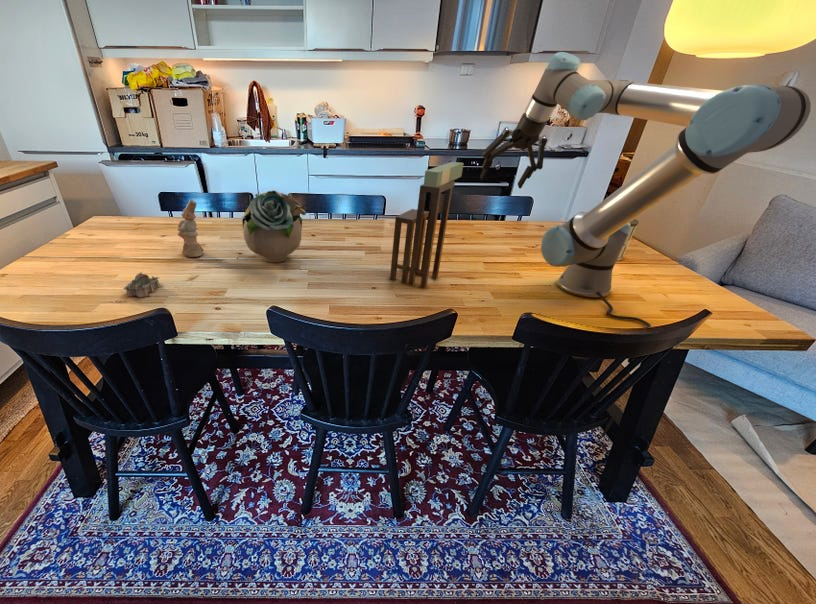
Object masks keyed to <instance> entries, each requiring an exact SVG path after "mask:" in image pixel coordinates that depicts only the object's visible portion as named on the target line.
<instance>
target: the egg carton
mask: <svg viewBox="0 0 816 604" xmlns="http://www.w3.org/2000/svg"><path fill="white" fill-rule="evenodd" d="M160 278H161V277H158V276H153V275H152V276H151V277H150V276H149V275H148V274H146V273H143V272H142V271H141V272H139V273H137V274H136V275H135V276H134V278H133V279H132V280H131V281H130V282H129V283H127V284H126V286H125V287H123V288H122V289H123V290H125V291H126V294H127V297H130V298H132V297H135V296H136V297H137V298H143V297H145V298H146V297H149V293H153V292H155V289H158V288H160V287H161V284H160V282H159V279H160Z"/></svg>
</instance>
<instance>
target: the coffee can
mask: <svg viewBox="0 0 816 604" xmlns="http://www.w3.org/2000/svg"><path fill="white" fill-rule="evenodd" d="M629 223H630V225H631V227H630V229H629V232H628V236H627V238H626V240H625V242H624V244H623V247H622V249H621V251H620V253H619V256H618V258H617V260H616V261H622V260H623V259H624V256H625V253H626V252H627V250H628V247H629V245H630V243H631V240H632V238H633V235H634V233H635V231H636V229H637V226H638V225H639V223H640V221H639V220H638V219H637V218H635V219H634V220H632V221H631V222H629Z"/></svg>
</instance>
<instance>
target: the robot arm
mask: <svg viewBox="0 0 816 604" xmlns="http://www.w3.org/2000/svg"><path fill="white" fill-rule="evenodd" d="M580 65H581V60H580V58H579V57H578V56H576V55H574V54H571V53H570V52H566V51H565V52H564V51H557V52H556V53H554V54H553V55H552V57H551V59H550V60H549V62H548V64H547V66H546V67H545V68H544V71H543V73H542V76H541V77H540V79H539V82H538V83H537V86H536V88H535V90H534V92H533V93H532V95H531V96H530V99H529V101H528V103H527V105H526V107H525V109H524V112H523V113H522V115H521V117H520V119H519V121H518V122H517V124H516V127H515V129H513V130H511V129H509V127H508V126H506V127H504V128H503V130H502V132H501V133H500V134H499V135H498V136H497V137H496V138H495V139H494V140H493V141H492V142H491V143H490V144H489V145H488V146H487V147H486V148H485V149H484V150H483V151H482V152H481V154H482V157H483V158H484V161H483V163H482V165H481V168H482V171H481V174H480V175H479V177H480V181H482V182H483V181H484V180H485V178H486V176H487V174H488V172H489V170H490V168H491V166H492V164H493V160H494V159H495V158H497V157H499V156H500V155H501V154H503V153H505V152H507V151H508V150H511V149H513V148H515V149H517V150H518V149H520V150H522V151H525V150H527V153H528V158H529V159H528V160H529V164H530V165H527V166H526V168H525V170H524V172H523V173H522V175H521V176H520V178H519V179H518V182H517V187H518V189H522V188H523V186H524V184H525V183H526V181H527V179H530V178H531V177H532V175H533V173H534V172H536V171H538V170H542V169H543V167H544V158H545V148H546V145H547V143H548V138H547V136H546V134H544V135H542V136H540V135H541V134H542V132H543V130H544V128H545V127H546V125H547V121H549V120H550V118H551V116H552V115H553V112H554V111H555V109H556V108H557V105H559V106H560V107H561V108H562V109H564V110H565V111H566V112H567V113H568V114H569V115H570V116H571V117H573V118H575V119H577V120H578V121H588V120H589V119H590V118H593V117H595V115H596V114H609V115H616V116H622V117H623V116H624V117H629V118H634V119H640V120H647V121H651V122H658V123H663V124H669V125H674V126H680V127H685V128H684V129H682V130H681V131H679V133H678V134H677V135H676V141H675V144H674V145H673V146H672V147H670V148H669V149H668V150H666V151H665V152H664V153H663V154H662V155H660V156H659V157H658V158H656V159H655V160H654V161H652V162H651V163H650V164H649V165H647V166H646V167H644V168H643V169H642V170H641V171H639V172H638V173H636V174H635V175H634V176H633V177H632V178H630V179H629V180H628V181H627V182H625V183H624V184H623V185H622V186H620V187H619V188H617V189H616V190H615V191H614V192H613V193H611V194H610V195H609V196H607V197H606V198H604V199H603V200H602V201H601V202H599V203H598V204H597V205H596V206H594V207H592V208H591V209H590V210H589V211H580V212H578V213H576V214H575V215H574V216H573V217H571V218H570V219H569V220H567V221H566V222H565V223H563V224H561V225H555V226H553V227H550V228H548V229H547V230H546V231H545V233H544V234H543V236H542V238H541V245H540V251H541V255H542V258H543V259H544V261H545V262H546V263H547V264H548V265H549V266H552V267H555V268H559V267H560V268H561V267H566V269H565V270H564V271H563V273H562V274H561V275H560V276H559V278H558V280H557V286H558V288H560V290H562V291H563V292H566V293H568V294H571V295H574V296H577V297H581V298H585V299H586V298H587V299H600V300H601V301H603V303H604V304H605V305H606V306H607V307H608V308H609V309H608V310H607V311H606V315H607V316H609V317H611V318H615V319H617V320H631V321H636V322H639V323H642V324H643V325H645V326H646V328H647V327H651V328H652V326H651V324H650V322H648V321H646V320H644V319H642V318H639V317H635V316H624V315H617V314H613V313H612V312H613V311H614V308H613V305H612V304H611V303H610V302H609V301H608V300H607V299H606V297H608V296H610V293H611V290H612V282H613V281H612V280H613V269H614V267H615V264H616V263H617V261H618V260H617V258H618V256H619V253H620V251H621V249H622V247H623V244H624V242H625V240H626V238H627V236H628V232H629V229H630V227H631V225H630V223H629V222H631V221H632V220H634V219H637V218H638V217H640V216H642V215H643V214H645V213H646V212H647V211H649V210H650V209H651V208H653V207H654V206H656V205H658V204H660V203H661V202H662V201H664V200H666V199H667V198H668V197H670V196H671V195H673V194H674V193H675V192H677V191H678V190H680V189H682V188H683V187H684V186H686V185H688V184H689V183H690V182H692V181H693V180H695V179H697V178H698V177H700V176H701V175H713V174H714V175H715V174H717V173H718V172H720V171H721V170H723V169H724V168H726V167H728V166H730V165H731V164H733V163H734V162H736V161H737V160H738V159H740V158H742V157H743V156H745V155H747V154H750V153H751V154H753V153H758V152H765V151H770V150H771V149H774V148H777V147H779V146H781V145H783V144H785V143H786V142H788V141H789V140H791V139H792V138H793V137H795V135H797V134H798V133H799V131H801V129H802V128H803V127H804V125H805V124H806V122H807V121H808V119H809V116H810V113H811V105H812V104H811V100H810V97H809V95H808V94H807V93H806V91H804V90H803V89H801V88H799V87H797V86H793V85H765V84H761V83H751V84H744V85H739V86H735V87H730V88H727V89H725V90H718V89H707V88H697V87H687V86H679V85H678V86H677V85H669V84H659V83H658V84H657V83H648V82H640V81H639V82H638V81H637V82H635V81H631V80H628V79H618V80H613V79H612V80H607V79H588V78H586V77H584V76H583V75H581V74H580V73H579V72H578V70H579V66H580ZM509 137H511V138H509ZM507 139H508V140H507ZM505 141H506V142H505ZM536 143H538V149H537V161H536V159H535V155H534V149H533V145H535V144H536ZM615 419H616V416H614V417H611V418H610V419H609V421H608V422H607V424H606V426H605V428H604V429H603V432H602V433H601V436H600V437H601V438H605V436H606V434H607V432H608V431H609V429H610V427H611V425H612V424H613V422H614V420H615Z"/></svg>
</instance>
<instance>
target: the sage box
mask: <svg viewBox="0 0 816 604" xmlns="http://www.w3.org/2000/svg"><path fill="white" fill-rule="evenodd" d="M463 168H464V162H456V161H449V162H447V163H444V164H441V165H438V166H435V167H432V168H429V169H427V170H425V171H424V181H423V184H424V186H429V187H439V186H441V185H443V184H446V183H448V182H450V181H455V180H457V179H459V178H461V177H462V175H463V170H464V169H463Z"/></svg>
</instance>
